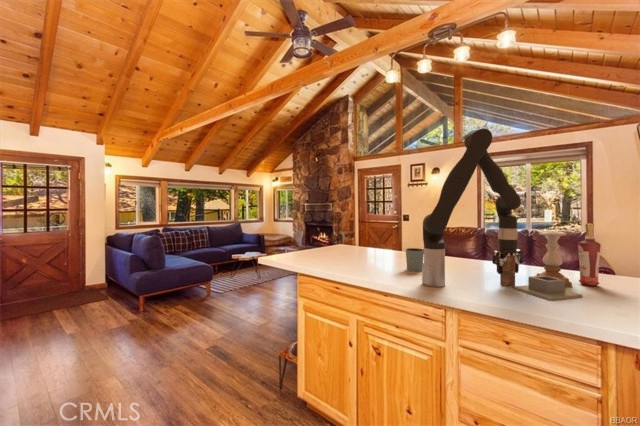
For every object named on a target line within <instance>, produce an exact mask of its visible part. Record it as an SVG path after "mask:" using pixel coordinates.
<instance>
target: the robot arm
mask: <svg viewBox="0 0 640 426" xmlns="http://www.w3.org/2000/svg"><path fill="white" fill-rule="evenodd" d="M492 141H493V134H492V132H491V130H490V129H488V128H484V127H483V128H477V129H475V130H473V131H471V132H469V133H467V135H466V136H465V137H464V146H465V149H466V150H465V152H464V153H463V154H462V157H461V158H460V159H459V161H457V162H456V164H455V165H454V166H453V168H452V169H451V170H450V172H449V173H448V175H447V176H446V178H445V180H444V183H443V185H442V188H441V191H440V195H439V199H438V200H437V204H436V206H435V207H434V209H433V210H432V212H431V213H430V214H428V215H426V216H425V217H424V219H423V221H422V241H423V250H424V255H423V264H422V271H421V272H422V273H421V274H422V276H421V282H422V284H424V285H426V286H427V287H432V288H433V287H434V288H437V287H438V288H442V287H444V286H446V243H445V238H444V231H446V228H447V226H448V224H449V221H450V218H451V216H452V214H453V211H454V208H455V207H456V206H457V204H458V203H459V201H460V199H461V197H462V196H463V194H464V192H465V190H466V188H467V186H468V184H469V183H470V181H471V179H472V177H473V174H474V173H475V171H476V169H477V166H479V168H480V170H481V172H482V174H483V175H484V177H485V179H486V180H487V184H488V185H489V186H490V189H491V191H492V192H494V193H495V194H497V195H498V196H497V197H496V200H495V210H496V213H497V217H498V232H497V235H498V236H497V237H498V238H497V247H498V249H499V250H498V251H497V250H493V251H492V264H493V265H495V266H496V273H497V274H498V275H500V274H502V273H503V266H502V265H503V263H504V262H506V260H507V256H510V255H512V256H515V274H518V273H519V269H520V264H524V256H523V253H524V252H523V250H521V249H519V248H518V247H519V243H518V242H519V241H518V239H519V237H518V236H519V235H518V234H519V231H518V218H517V216H515V215H514V214H513V213H512V211H513V210H514V211H515V210H517V209H519V208H520V207H521V203H522V200H521V197H520V195H519V194H518V192H517V191H516V190H515V189H514V188H513V186H511V185H510V183H509V181H508V179H507V177H506V175H505V173H504V172H503V170H502V169H501V167H500V166H499V165H498V164H497V163H496V162H495V161H494V160H493V158H492V157H491V155H490V154H489V153H488V149H489V147H490V146H491V145H492V143H493V142H492ZM501 258H502V259H501Z"/></svg>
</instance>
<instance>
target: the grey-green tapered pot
mask: <svg viewBox="0 0 640 426" xmlns="http://www.w3.org/2000/svg"><path fill="white" fill-rule="evenodd" d="M405 260H406V270H407V271H409V272H412V273H413V272H416V273H418V272H422V264H423V263H424V248H418V247H417V248H415V247H414V248H413V247H412V248H411V247H410V248H405Z"/></svg>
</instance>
